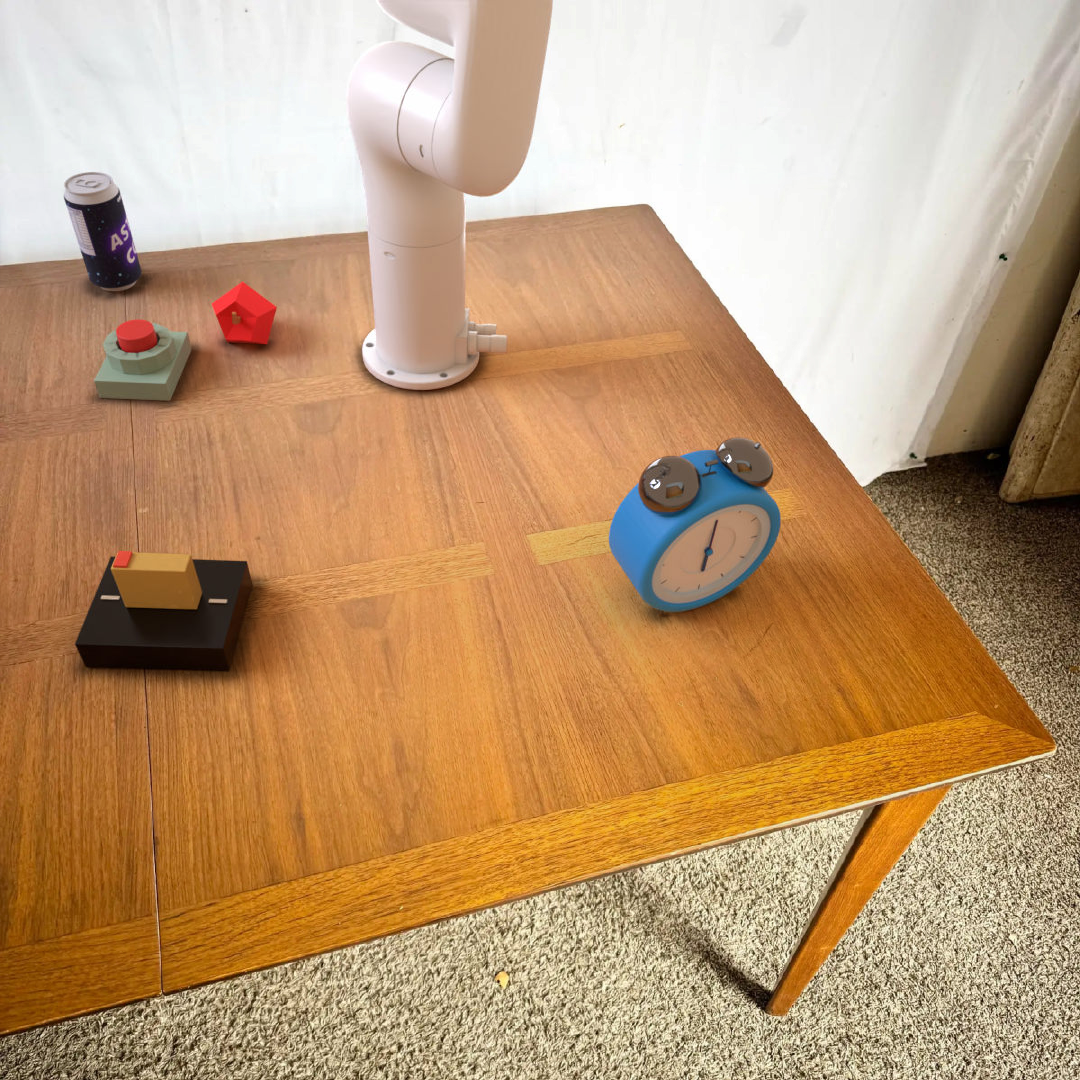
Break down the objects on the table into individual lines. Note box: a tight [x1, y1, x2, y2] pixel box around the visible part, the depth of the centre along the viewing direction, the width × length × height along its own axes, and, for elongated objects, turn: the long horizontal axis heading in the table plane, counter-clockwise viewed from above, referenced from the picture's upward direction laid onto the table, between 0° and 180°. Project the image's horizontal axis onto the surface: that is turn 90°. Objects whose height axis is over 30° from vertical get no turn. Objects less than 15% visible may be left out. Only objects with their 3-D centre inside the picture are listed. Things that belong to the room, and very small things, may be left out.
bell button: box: [115, 318, 157, 353], centre depth 97 cm, size 4×4×2 cm
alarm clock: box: [608, 436, 782, 616], centre depth 78 cm, size 13×6×15 cm, turn 115°
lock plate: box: [74, 556, 254, 672], centre depth 76 cm, size 11×9×3 cm
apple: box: [211, 281, 278, 345], centre depth 103 cm, size 7×7×8 cm
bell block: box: [93, 322, 193, 402], centre depth 98 cm, size 9×7×4 cm
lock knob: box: [111, 550, 202, 609], centre depth 74 cm, size 6×2×5 cm, turn 90°
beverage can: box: [63, 171, 143, 292], centre depth 107 cm, size 6×6×12 cm
